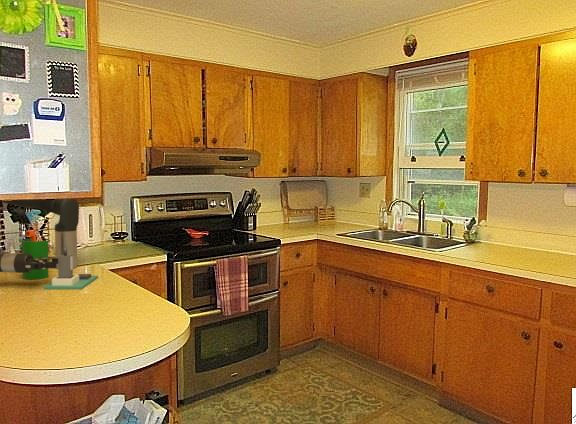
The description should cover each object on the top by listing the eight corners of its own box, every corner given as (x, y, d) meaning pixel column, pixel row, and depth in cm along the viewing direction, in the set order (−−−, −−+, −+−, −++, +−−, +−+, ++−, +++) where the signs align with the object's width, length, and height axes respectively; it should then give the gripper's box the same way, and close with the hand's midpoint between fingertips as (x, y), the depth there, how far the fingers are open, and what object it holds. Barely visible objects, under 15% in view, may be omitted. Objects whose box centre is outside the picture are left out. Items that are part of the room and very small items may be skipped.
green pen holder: (52, 275, 206) (52, 229, 205) (40, 280, 198) (39, 231, 196) (30, 274, 207) (29, 228, 206) (17, 279, 199) (15, 230, 197)
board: (63, 277, 203) (63, 269, 202) (98, 277, 204) (97, 269, 203) (43, 289, 183) (43, 280, 182) (81, 289, 184) (81, 280, 183)
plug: (62, 281, 191) (61, 247, 190) (74, 282, 191) (73, 247, 190) (58, 284, 187) (57, 248, 186) (70, 284, 187) (70, 248, 186)
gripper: (8, 256, 179) (53, 256, 181) (25, 250, 194) (67, 250, 195) (8, 276, 180) (53, 276, 182) (25, 268, 194) (67, 268, 196)
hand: (60, 263), depth 188 cm, fingers open, 8 cm apart
